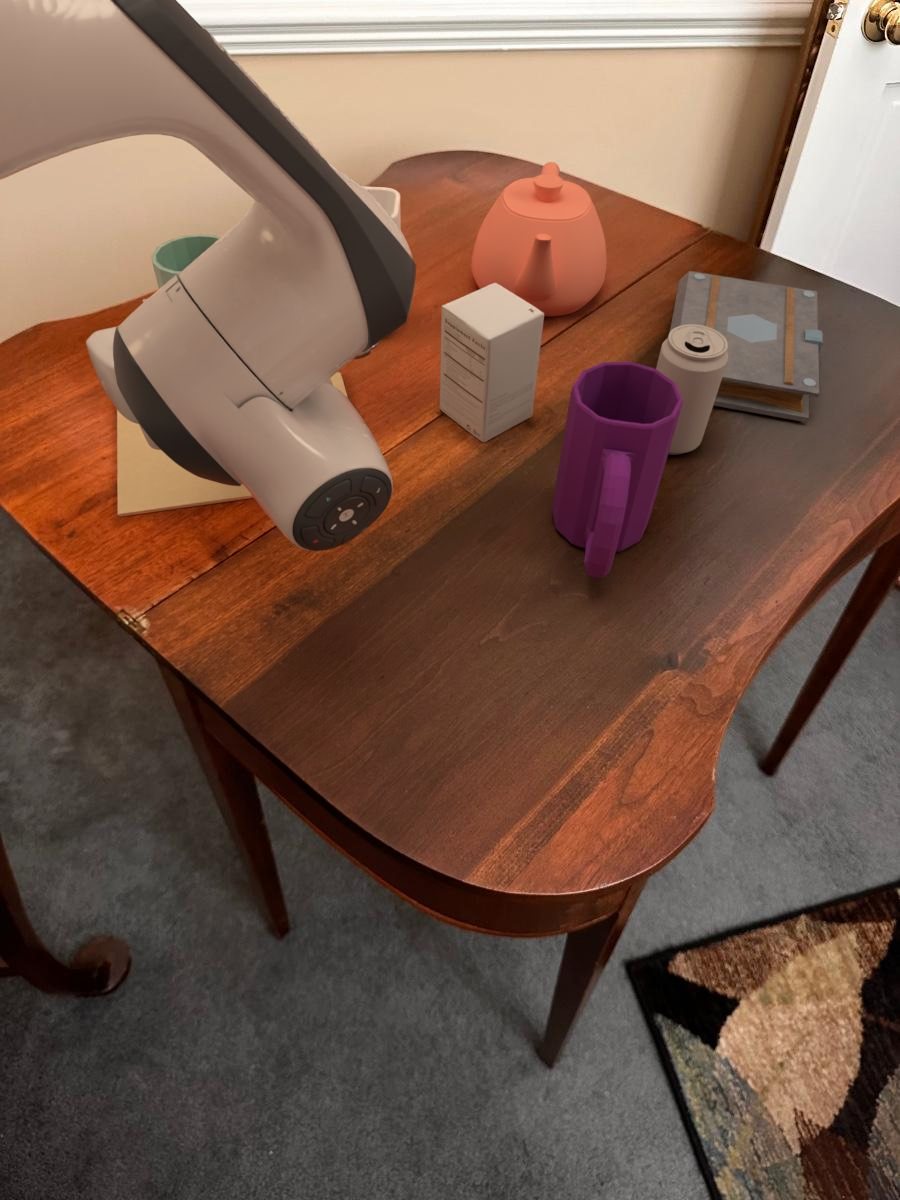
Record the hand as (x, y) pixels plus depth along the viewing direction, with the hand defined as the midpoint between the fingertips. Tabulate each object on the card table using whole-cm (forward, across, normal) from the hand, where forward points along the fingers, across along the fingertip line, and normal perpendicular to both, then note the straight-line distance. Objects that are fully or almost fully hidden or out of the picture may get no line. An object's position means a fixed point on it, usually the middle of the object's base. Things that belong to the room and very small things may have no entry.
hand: (201, 294), depth 71 cm
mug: (-23, -27, +21) cm, 41 cm away
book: (-5, -59, +20) cm, 62 cm away
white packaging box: (-1, -27, +20) cm, 34 cm away
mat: (+6, -2, +20) cm, 21 cm away
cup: (+20, -23, +19) cm, 36 cm away
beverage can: (-13, -42, +20) cm, 49 cm away
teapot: (+18, -45, +19) cm, 52 cm away
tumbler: (-1, 0, +5) cm, 5 cm away
